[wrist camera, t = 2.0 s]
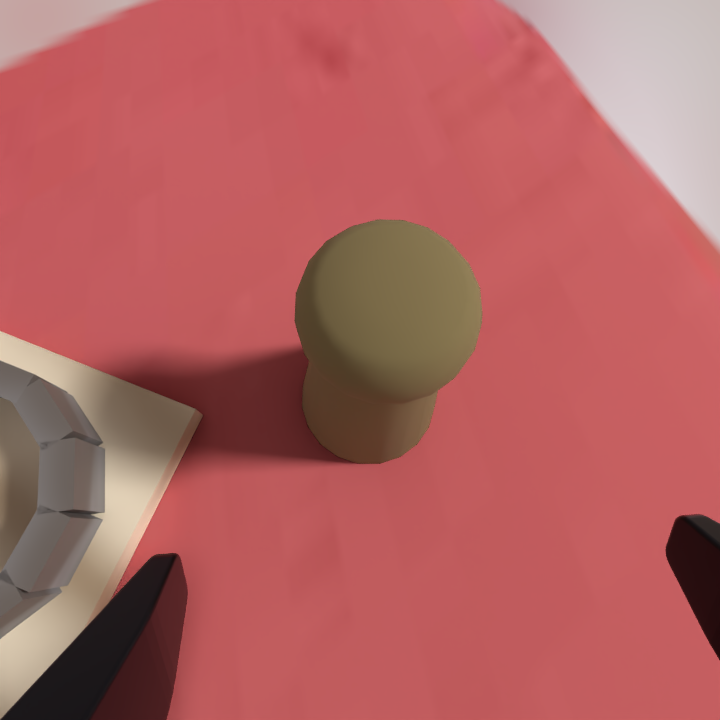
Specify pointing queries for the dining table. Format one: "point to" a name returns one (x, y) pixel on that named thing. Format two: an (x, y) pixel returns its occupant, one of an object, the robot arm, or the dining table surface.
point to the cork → (382, 335)
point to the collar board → (130, 497)
